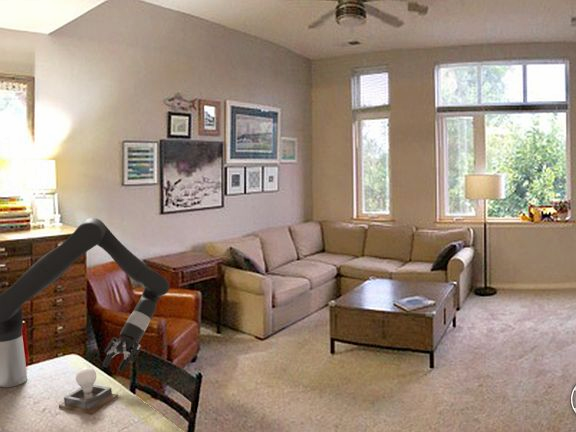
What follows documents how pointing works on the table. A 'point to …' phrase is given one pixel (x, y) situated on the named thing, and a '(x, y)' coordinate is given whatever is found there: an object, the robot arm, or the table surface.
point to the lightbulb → (86, 381)
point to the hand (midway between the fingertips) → (112, 368)
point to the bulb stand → (90, 406)
